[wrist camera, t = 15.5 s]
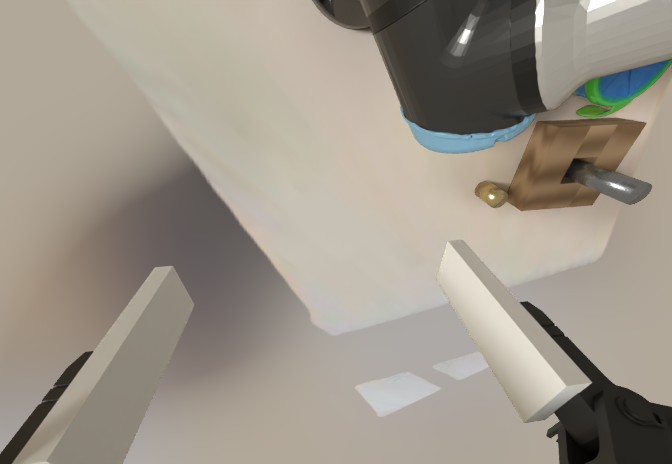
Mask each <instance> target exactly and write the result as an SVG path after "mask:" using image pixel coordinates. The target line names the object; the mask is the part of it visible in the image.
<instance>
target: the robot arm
mask: <svg viewBox="0 0 672 464" xmlns="http://www.w3.org/2000/svg"><path fill="white" fill-rule="evenodd" d="M312 1H313V2H314V4H315V5H316V7H317V8H318V9H319V10H320V11H321V13H322V14H323V15H324V16H326V17H327V18H328V19H329V20H331V21H332V22H334V23H335V24H337V25H339V26H342V27H345V28H349V29H363V28H368V27H371V30H372V32H373V36H374V38H375V41H376V43H377V46H378V48H379V51H380V53H381V56H382V58H383V61H384V64H385V66H386V69H387V71H388V74H389V76H390V79H391V81H392V84H393V86H394V89H395V91H396V94H397V96H398V99H399V101H400V104H401V113H402V116H403V118H404V119H405V120H406V122H407V123H408V124H409V126H410V128H411V131H412V133H413V135H414V137H415V139H416V140H417V141H418V142H419V143H420V144H421V145H422V146H424V147H425V148H427V149H429V150H432V151H435V152H440V153H468V152H474V151H479V150H483V149H487V148H490V147H493V146H494V144H495V142H497V141H502V142H506V141H508V140H510V139H512V138H513V137H515V136H517V135H518V134H520V133H521V132H523V131H524V130H525V129H526V128H527V127H528V126H529V125H530V124H531V123H532V121H533V120H534V118H535V116H536V114H537V113H539V112H543V111H548V110H553V109H556V108H558V107H559V106H560V105H561V104H562V103H563V102H564V101H565V100H566V99H567V98H568V97H569V96H570V95H571V94H572V93H573V92H574V91H575V90H576V89H578V88H579V87H580V86H581V85H583V84H584V83H586V82H587V81H589V80H591V79H595V78H599V77H603V76H607V75H611V74H614V73H618V72H622V71H626V70H630V69H634V68H638V67H642V66H645V65H649V64H653V63H657V62H661V61H665V60H669V59H672V0H312ZM436 281H437V282H438V284H439V286H440V287H441V289H442V290H443V292H444V294H445V295H446V297H447V299H448V300H449V302H450V303H451V305H452V307H453V308H454V310H455V312H456V313H457V315H458V316H459V318H460V320H461V321H462V323H463V324H464V326H465V328H466V329H467V331H468V333H469V334H470V336H471V337H472V339H473V341H474V342H475V344H476V346H477V347H478V349H479V351H480V352H481V354H482V355H483V357H484V359H485V360H486V362H487V363H488V365H489V367H490V368H491V370H492V372H493V373H494V375H495V376H496V378H497V380H498V381H499V383H500V384H501V386H502V387H503V389H504V391H505V393H506V394H507V396H508V398H509V399H510V401H511V402H512V404H513V405H514V407H515V409H516V411H517V412H518V414H519V415H520V417H521V419H522V420H523V422H524V423H528V422H534V421H541V420H545V419H547V418H548V417H549V416H550V415H552V414H553V413H555V414H556V416H557V417H558V419H559V420H560V421H559V422H558V423H557V424H555V425H554V426H553V427H551V428H550V429H549V430H548V432H547V437H549V438H552V437H553V436H554V435H556V434H558V439H557V441H556V442H558V445H559V462H560V464H672V407H669V406H664V405H660V404H655V403H650V402H649V401H647V400H646V399H645V398H643V397H642V396H641V395H639V394H637V393H635V392H633V391H631V390H629V389H627V388H624V387H621V386H616V385H615V384H613V383H612V382H611V381H610V380H609V379H608V378H607V377H605V376H604V374H603V373H602V372H601V371H600V370H599V369H598V368H597V367H596V366H595V365H594V364H593V363H592V362H591V361H590V360H589V359H588V358H587V357H586V356H585V355H584V354H583V353H582V352H581V351H580V350H579V349H578V348H577V347H576V346H575V345H574V343H573V342H571V340H570V339H569V338H568V337H565V336H564V333H563V332H562V331H561V330H560V329H559V328H558V327H557V326H555V325H554V323H553V322H552V321H551V320H550V319H549V318H548V317H547V316H546V315H545V314H544V313H543V312H542V311H541V310H540V309H538V308H537V307H535V306H534V305H532V304H531V303H529V302H519V301H518V300H517V299H516V298H515V297H514V296H513V295H512V294H511V293H510V291H509V290H508V289H507V288H506V287H505V286H504V285H503V284H502V283H501V282H500V280H499V279H498V278H497V277H496V276H495V275H494V274H493V273H492V272H491V271H490V269H489V268H488V267H487V266H486V265H485V264H484V263H483V262H482V261H481V260H480V258H479V257H478V256H477V255H476V254H475V253H474V252H473V251H472V250H471V249H470V247H469V246H468V245H467V244H466V243H465V242H464V241H463V240H456V241H448V243H447V246H446V249H445V253H444V256H443V259H442V263H441V266H440V269H439V272H438V276H437V279H436ZM193 307H194V304H193V302H192V300H191V298H190V296H189V294H188V293H187V291H186V289H185V287H184V285H183V284H182V282H181V280H180V278H179V276H178V275H177V273H176V271H175V269H174V268H173V266H167V267H156V268H154V270H153V271H152V273H151V274H150V275H149V276H148V278H147V279H146V281H145V282H144V284H143V285H142V286H141V287H140V289H139V290H138V292H137V293H136V294H135V296H134V297H133V298H132V300H131V301H130V303H129V304H128V305H127V307H126V308H125V309H124V311H123V312H122V313H121V315H120V316H119V318H118V319H117V320H116V322H115V323H114V325H113V326H112V327H111V329H110V330H109V331H108V333H107V334H106V336H105V337H104V338H103V339H102V341H101V342H100V344H99V345H98V346H97V348H96V349H95V350H94V351H91V352H85V353H84V354H83V355H81V356H80V357H79V358H78V359H77V360H76V361H75V362H73V363H72V364H71V365H70V366H69V367H68V368H67V369H66V370H65V371H64V373H63V374H62V375H61V377H60V378H59V379H58V380H57V382H56V383H55V384H54V388H53V389H50V391H49V392H48V393H47V395H46V396H45V397H44V399H43V400H42V403H41V404H39V405H38V406H37V407H36V409H35V410H34V411H33V413H32V414H31V415H30V416H29V418H28V419H27V420H26V422H25V423H24V424H23V426H22V427H21V428H20V429H19V431H18V432H17V433H16V434H15V436H14V437H13V438H12V440H11V441H10V442H9V444H8V445H7V446H6V447H5V449H4V450H3V451H2V452H1V454H0V464H123V462H124V459H125V457H126V455H127V453H128V451H129V448H130V446H131V444H132V442H133V440H134V437H135V435H136V433H137V431H138V429H139V426H140V424H141V422H142V420H143V418H144V415H145V413H146V411H147V409H148V406H149V404H150V402H151V400H152V398H153V395H154V393H155V391H156V389H157V387H158V384H159V382H160V380H161V378H162V376H163V373H164V371H165V369H166V366H167V364H168V362H169V360H170V358H171V356H172V353H173V351H174V349H175V346H176V345H177V342H178V340H179V338H180V336H181V333H182V331H183V329H184V327H185V325H186V322H187V320H188V318H189V316H190V314H191V311H192V309H193Z"/></svg>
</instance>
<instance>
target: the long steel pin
mask: <svg viewBox="0 0 672 464" xmlns="http://www.w3.org/2000/svg"><path fill="white" fill-rule="evenodd" d="M564 177H566V178H568V179H570V180H573V181H575V182H577V183H580V184H582V185H584V186H586V187H589V188H591V189H593V190H596V191H598V192H600V193H603V194H605V195H607V196H610V197H612V198H614V199H617V200H619V201H621V202H624V203H626V204H629V205H631V204H635V203H637V202H639V201H641V200H642V199H644V198H645V197H646V196H647V195H648V194H649V192H650V191H651V189H652V185H651V184H649V183H646V182H643V181H641V180H638V179H635V178H632V177H629V176H626V175H623V174H620V173H617V172H614V171H611V170H609V169H606V168H603V167H600V166H597V165H594V164H591V163H588V162H585V161H582V160H580V159H577V158H573V160H572V162H571V164H570V166H569V168H568V169H567V171H566V173H565V175H564Z"/></svg>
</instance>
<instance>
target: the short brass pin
mask: <svg viewBox="0 0 672 464" xmlns="http://www.w3.org/2000/svg"><path fill="white" fill-rule="evenodd" d="M475 195H476V196H478V197H479V198H480V199H482V200H483V201H484V202H486V203H487V204H488V205H490V206H491V207H493V208H497V207H500V206H502V205H503V204H504V203H505V202H506V201H507V199H508V194H507V192H505V191H503V190H502V189H500V188H499V187H497V186H496V185H494V184H492V183H491V182H489V181H484V182H481V183H480V184H479V185H478V186H477V187H476V189H475Z"/></svg>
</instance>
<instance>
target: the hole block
mask: <svg viewBox="0 0 672 464" xmlns="http://www.w3.org/2000/svg"><path fill="white" fill-rule="evenodd" d="M646 124H647V123H644V122H638V121H632V120H626V119H621V118H601V119H580V120H560V121H540V122H537V124H536V126H535V129H534V131H533V133H532V136H531V138H530V140H529V143H528V145H527V148H526V150H525V152H524V155H523V157H522V159H521V162H520V164H519V166H518V169H517V171H516V174H515V176H514V178H513V181H512V183H511V185H510V188H509V190H508V193H507V194H508V199H507V202H509V203H510V204H512V205H513V206H515V207H516V208H518V209H519V210H521V211H526V210H539V209H551V208H564V207H576V206H588V205H593V203H594V202H595V200H596V199H597V197H598V196H599V194H600V192H598V191H596V190H593V189H591V188H589V187H586V186H584V185H582V184H580V183H577V182H575V181H573V180H570V179H568V178H566V177H564V175H565V173H566V171H567V169H568V168H569V166H570V164H571V162H572V160H573V158H577V159H580V160H582V161H585V162H588V163H591V164H594V165H597V166H600V167H603V168H606V169H609V170H611V171H614V172H615V170H616V169H617V167H618V166H619V164H620V163H621V161H622V160H623V158H624V157H625V155H626V154H627V152H628V151H629V149H630V148H631V146H632V145H633V143H634V142H635V140H636V139H637V137H638V136H639V134H640V133H641V131H642V130H643V128H644V127H645V125H646Z"/></svg>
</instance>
